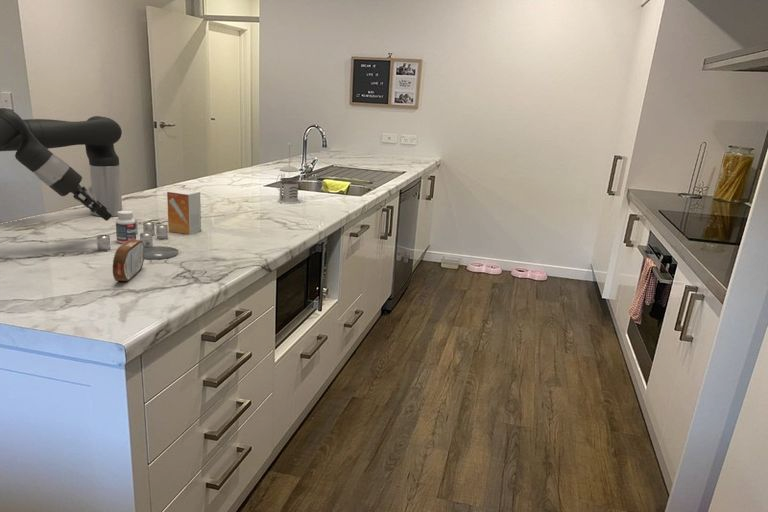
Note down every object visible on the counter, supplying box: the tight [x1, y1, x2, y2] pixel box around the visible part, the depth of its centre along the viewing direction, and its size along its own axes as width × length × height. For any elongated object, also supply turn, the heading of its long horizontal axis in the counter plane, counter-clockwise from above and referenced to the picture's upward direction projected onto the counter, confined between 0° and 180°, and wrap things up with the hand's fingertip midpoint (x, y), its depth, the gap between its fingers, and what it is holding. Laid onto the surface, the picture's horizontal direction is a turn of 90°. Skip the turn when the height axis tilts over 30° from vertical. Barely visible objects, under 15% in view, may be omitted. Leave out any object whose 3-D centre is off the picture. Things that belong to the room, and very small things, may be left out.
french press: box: [276, 142, 301, 205], centre depth 233 cm, size 10×12×25 cm
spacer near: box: [96, 234, 111, 252], centre depth 154 cm, size 3×3×4 cm
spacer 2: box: [139, 232, 154, 248], centre depth 159 cm, size 3×3×4 cm
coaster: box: [144, 245, 179, 260], centre depth 154 cm, size 11×11×1 cm
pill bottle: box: [115, 210, 137, 244], centre depth 163 cm, size 5×5×9 cm
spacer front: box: [155, 224, 169, 241], centre depth 169 cm, size 3×3×4 cm
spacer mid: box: [142, 221, 156, 237], centre depth 171 cm, size 3×3×4 cm
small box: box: [166, 188, 202, 235], centre depth 178 cm, size 8×6×13 cm
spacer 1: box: [134, 219, 139, 235], centre depth 172 cm, size 3×3×4 cm
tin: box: [112, 239, 145, 282], centre depth 135 cm, size 15×3×8 cm, turn 5°
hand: (107, 215), depth 158 cm, fingers open, 8 cm apart
